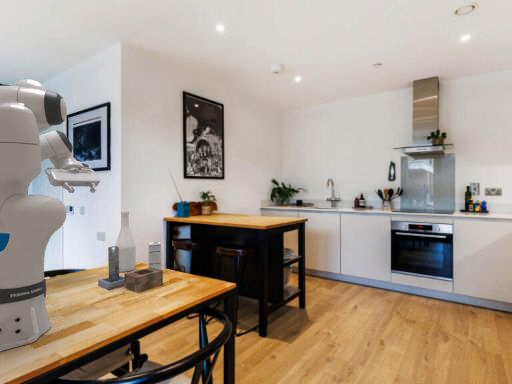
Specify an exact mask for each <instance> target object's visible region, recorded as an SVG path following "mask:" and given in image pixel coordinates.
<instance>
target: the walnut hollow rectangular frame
mask: <svg viewBox="0 0 512 384" xmlns="http://www.w3.org/2000/svg"><path fill="white" fill-rule="evenodd" d="M123 273H124V274H123V276H124V286H123V287H124V289H126V290H128V291H131V292H134V293H140V292H143V291H146V290H149V289H153V288H156V287H160V286H163V283H164V270H163V269H161V270H159V269H155V268H151V267H149V266H148V267H146V268H141V269H137V270H136V269H135V270H132V271H128V272H123Z"/></svg>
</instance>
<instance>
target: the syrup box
mask: <svg viewBox="0 0 512 384" xmlns="http://www.w3.org/2000/svg"><path fill="white" fill-rule="evenodd" d="M147 245H148V248H147V249H148V268H149V267H151V268H155V269H159V270H162V243H161V242H160V241H151V242H148V244H147Z"/></svg>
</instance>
